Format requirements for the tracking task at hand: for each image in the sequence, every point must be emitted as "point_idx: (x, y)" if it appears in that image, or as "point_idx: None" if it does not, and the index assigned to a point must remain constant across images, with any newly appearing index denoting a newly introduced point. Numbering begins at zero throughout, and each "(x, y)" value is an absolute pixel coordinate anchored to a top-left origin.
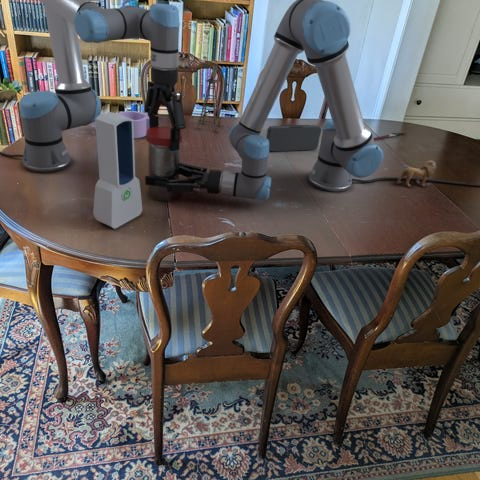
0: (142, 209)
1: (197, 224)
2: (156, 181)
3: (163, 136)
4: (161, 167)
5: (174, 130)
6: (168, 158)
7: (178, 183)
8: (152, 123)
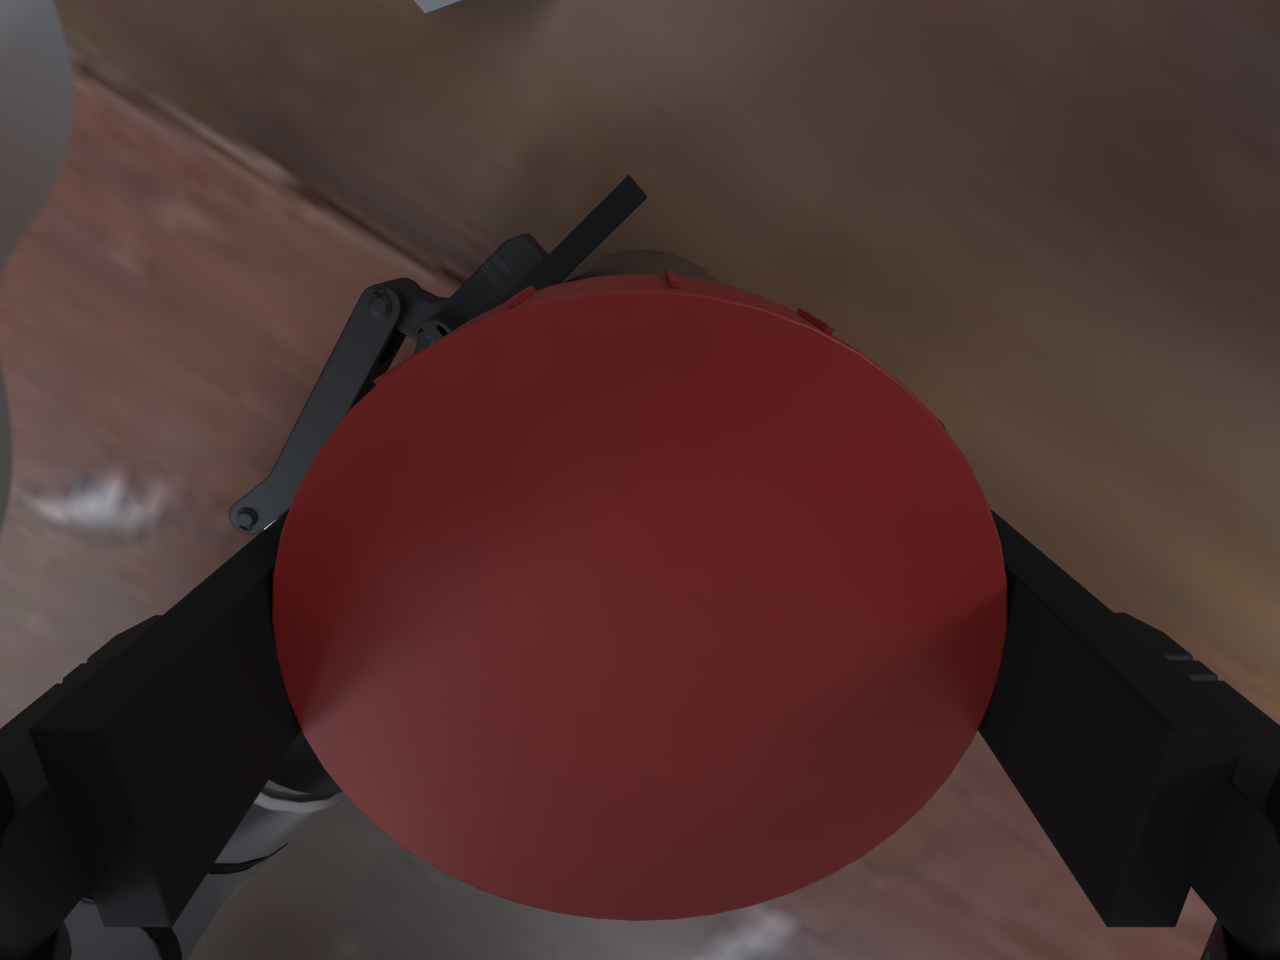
0: (424, 12)
1: (134, 314)
2: (514, 244)
3: (432, 531)
4: None
5: (38, 767)
6: None
7: (349, 391)
8: (1060, 668)
